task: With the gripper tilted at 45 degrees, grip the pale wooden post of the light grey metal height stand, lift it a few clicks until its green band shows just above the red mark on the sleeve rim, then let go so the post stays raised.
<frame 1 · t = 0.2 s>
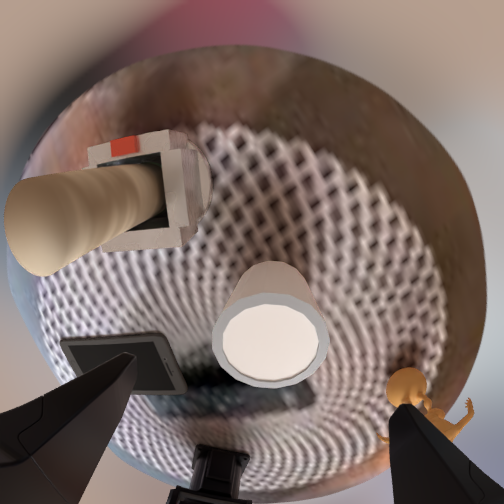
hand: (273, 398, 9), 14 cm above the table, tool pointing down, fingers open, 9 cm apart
figurine: (399, 366, 25), on the table
cell phone: (120, 363, 28), on the table
stand: (160, 185, 21), on the table
white short cylinder: (272, 293, 24), on the table
post: (110, 201, 14), point 8 cm above the table, slide at 0.0 cm
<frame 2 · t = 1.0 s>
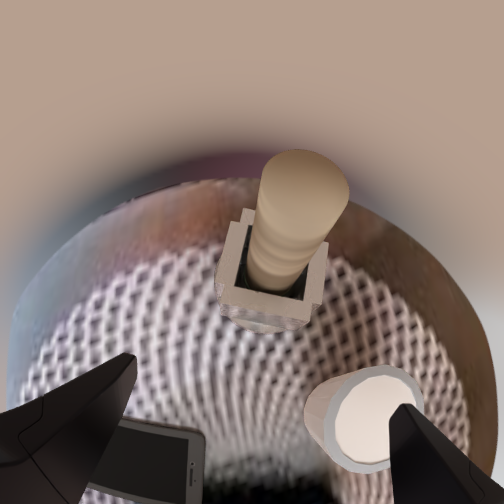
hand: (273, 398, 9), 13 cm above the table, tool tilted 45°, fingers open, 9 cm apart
cell phone: (118, 456, 18), on the table
stand: (265, 284, 24), on the table
white short cylinder: (337, 410, 21), on the table
post: (281, 245, 17), point 8 cm above the table, slide at 0.0 cm
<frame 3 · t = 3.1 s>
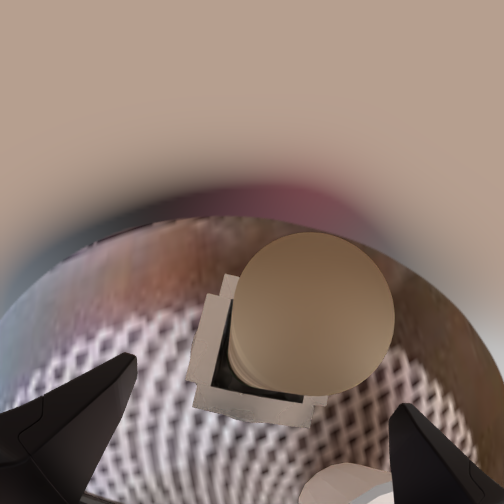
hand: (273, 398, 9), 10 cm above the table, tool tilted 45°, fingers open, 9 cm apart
stand: (255, 359, 18), on the table
white short cylinder: (337, 496, 15), on the table
post: (274, 345, 12), point 8 cm above the table, slide at 0.0 cm
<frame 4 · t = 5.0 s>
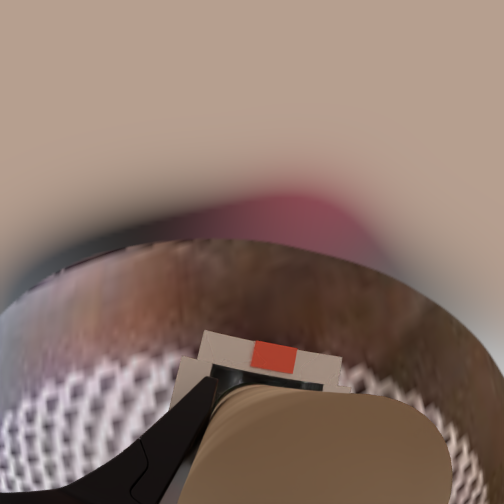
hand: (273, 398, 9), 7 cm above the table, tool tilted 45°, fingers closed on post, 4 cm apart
stand: (248, 414, 14), on the table
post: (266, 442, 8), point 7 cm above the table, slide at 0.0 cm, touching gripper
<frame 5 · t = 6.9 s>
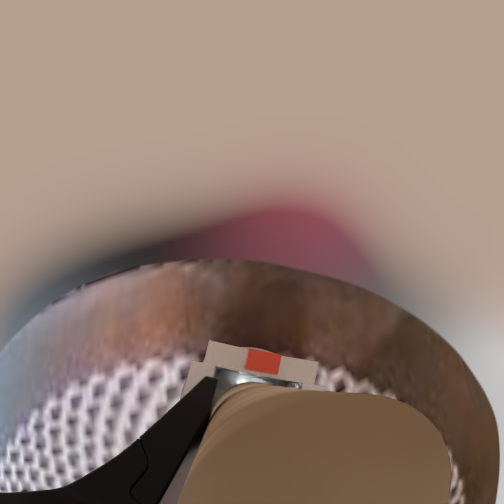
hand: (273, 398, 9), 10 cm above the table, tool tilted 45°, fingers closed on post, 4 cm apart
stand: (244, 407, 18), on the table
post: (266, 441, 8), point 11 cm above the table, slide at 3.4 cm, touching gripper
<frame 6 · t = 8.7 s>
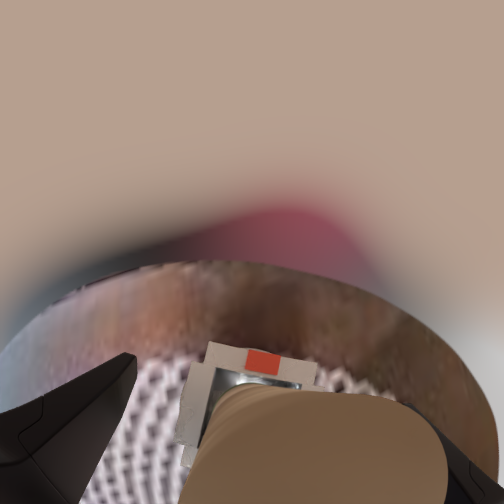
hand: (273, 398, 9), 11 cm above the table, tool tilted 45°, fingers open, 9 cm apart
stand: (244, 408, 18), on the table
post: (265, 441, 8), point 11 cm above the table, slide at 3.4 cm
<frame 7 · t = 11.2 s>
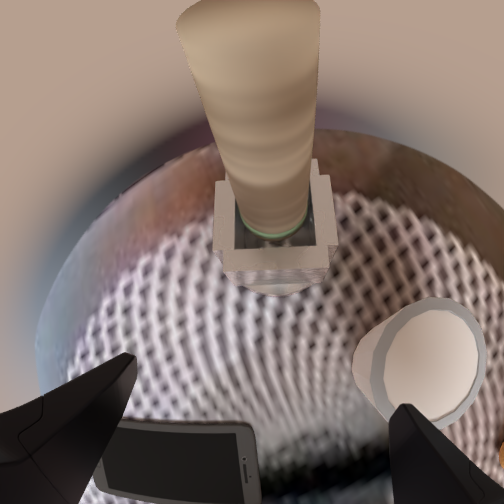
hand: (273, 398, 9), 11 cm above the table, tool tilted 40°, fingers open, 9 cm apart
cell phone: (166, 463, 18), on the table
stand: (277, 240, 22), on the table
white short cylinder: (389, 362, 18), on the table
post: (266, 145, 11), point 11 cm above the table, slide at 3.4 cm
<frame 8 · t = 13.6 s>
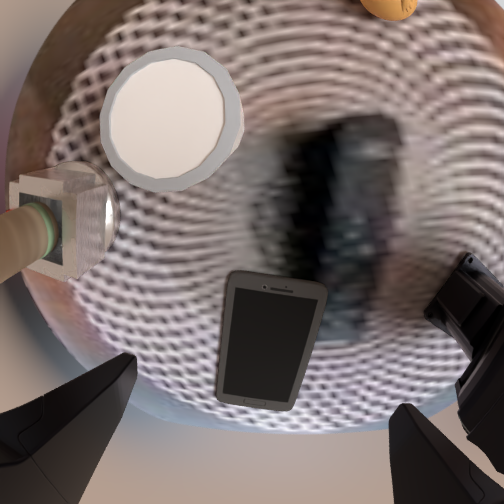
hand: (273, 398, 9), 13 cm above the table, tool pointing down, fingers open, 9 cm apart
figurine: (364, 3, 14), on the table
cell phone: (265, 348, 24), on the table
stand: (79, 210, 21), on the table
white short cylinder: (202, 125, 18), on the table
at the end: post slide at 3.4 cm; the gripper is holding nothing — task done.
